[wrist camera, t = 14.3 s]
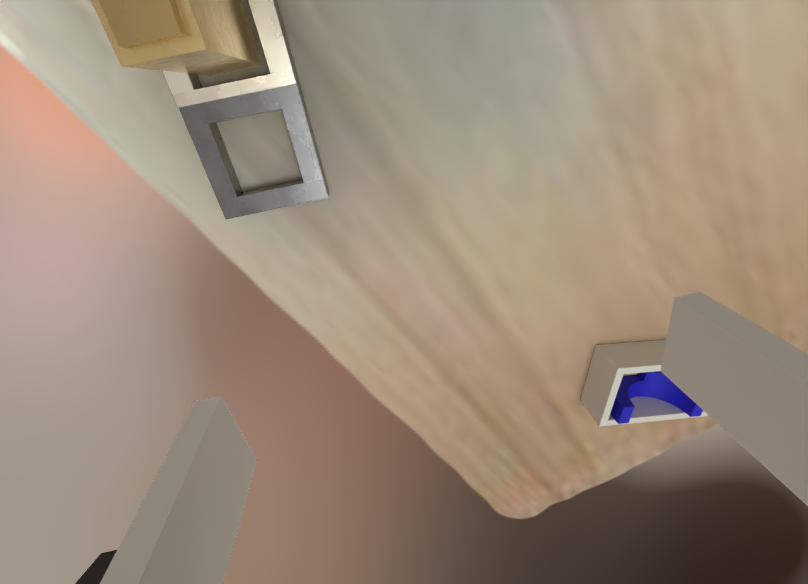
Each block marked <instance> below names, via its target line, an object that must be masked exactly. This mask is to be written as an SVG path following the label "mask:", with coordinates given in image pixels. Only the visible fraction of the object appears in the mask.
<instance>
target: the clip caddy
mask: <svg viewBox="0 0 808 584" xmlns="http://www.w3.org/2000/svg"><path fill="white" fill-rule="evenodd" d="M665 345H666V340H655V341H641V342H628V343H614V344H601V345H596V346H595V349H594V353H593V356H592V360H591V364H590V367H589V371H588V374H587V378H586V381H585V385H584V389H583V392H582V396H581V399H580V401H581V402H582V403H583V405H584V406H585V408H586V409H587V410H588V412H589V413H590V414H591V416H592V417H593V419H594V420H595V421H596V423H597V424H598V425H599V426H609V425H619V424H618V423H617V422H616V421H615V419H614V418H613V417H612V416H611V414H610V413H611V410H612V407H613V404H614V401H615V398H616V395H617V392H618V389H619V386H620V383H621V380H622V377H623V374H631V373H643V372H655V371H661V366H662V361H663V355H664V350H665ZM630 400H631V402H632V403H633V405H634V406H635V407H634V410H633V413H632V415H631V418H630V421H629V423H640V422H650V421H660V420H671V419H681V418H691V417H690V416H689V415H688V414H686V413H685V412H684V411H682V410H681V409H679V408H678V407H676V406H674V405H672V404H670V403H668V402H665V401H663V400H660V399H656V398H652V397H643V396H642V397H633V398H630ZM701 416H709V415H708V414H707V413H706V412H705V411H703V412H702V414H701ZM701 416H695V417H701ZM629 423H623V424H629Z"/></svg>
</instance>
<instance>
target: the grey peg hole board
mask: <svg viewBox="0 0 808 584" xmlns="http://www.w3.org/2000/svg"><path fill="white" fill-rule="evenodd" d="M248 1H249V4H250V8H251V11H252V14H253V18H254V21H255V24H256V27H257V31H258V34H259V37H260V41H261V44H262V47H263V50H264V54H265V57H266V60H267V64H268V67H269V70H270V73H271V74H269V75H264V76H259V77H254V78H249V79H244V80H240V81H235V82H230V83H225V84H220V85H215V86H210V87H205V88H202V85H201V83H200V80H199V78H198V75H197V74H189V73H179V72H170V71H163V74H164V76H165V79H166V81H167V83H168V86H169V88H170V90H171V93H172V95H173V97H174V100H175V102H176V105H177V107H178V108H179V109H180V112H181V114H182V116H183V119H184V121H185V124H186V126H187V128H188V131H189V133H190V135H191V138H192V140H193V143H194V145H195V147H196V150H197V152H198V154H199V157H200V159H201V162H202V164H203V166H204V169H205V171H206V173H207V176H208V178H209V181H210V183H211V185H212V188H213V190H214V192H215V195H216V197H217V200H218V202H219V204H220V207H221V209H222V211H223V214H224V216H225V219H230V218H234V217H239V216H244V215H249V214H253V213H258V212H263V211H268V210H272V209H277V208H282V207H287V206H291V205H296V204H301V203H306V202H310V201H315V200H320V199H325V198H328V197H329V190H328V186H327V182H326V179H325V175H324V171H323V168H322V164H321V160H320V157H319V153H318V150H317V146H316V142H315V139H314V135H313V131H312V128H311V124H310V120H309V117H308V113H307V110H306V106H305V102H304V99H303V95H302V91H301V88H300V84H299V80H298V77H297V73H296V70H295V66H294V62H293V59H292V55H291V51H290V48H289V44H288V40H287V37H286V33H285V30H284V26H283V22H282V19H281V15H280V11H279V8H278V4H277V0H248ZM277 109H282V112H283V115H284V118H285V121H286V125H287V128H288V131H289V135H290V138H291V141H292V145H293V148H294V151H295V154H296V158H297V161H298V164H299V168H300V171H301V174H302V178H303V180H298V181H293V182H288V183H283V184H279V185H274V186H269V187H264V188H260V189H255V190H250V191H245V192H242V189H241V187H240V184H239V181H238V179H237V176H236V174H235V171H234V168H233V166H232V163H231V161H230V158H229V155H228V153H227V150H226V148H225V145H224V142H223V140H222V137H221V135H220V132H219V129H218V127H217V124H216V122H219V121H224V120H229V119H233V118H238V117H243V116H248V115H253V114H258V113H262V112H267V111H272V110H277Z"/></svg>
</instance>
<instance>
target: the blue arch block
mask: <svg viewBox="0 0 808 584" xmlns="http://www.w3.org/2000/svg"><path fill="white" fill-rule="evenodd" d="M642 396H643V397H652V398H656V399H660V400H663V401H665V402H668V403H670V404H672V405H674V406H676V407H678V408H679V409H681V410H682V411H684V412H685V413H686V414H688V415H689V416H690V417H695V416H701V414H702V412H703V410H702V409H701V408H700V407H699V406H698V405H697V404H696V403H695V402H694V401H693V400H691V399H690V398H689V397H688V396H687V395H686V394H685V393H684V392H683V391H682V390H680V389H679V388H678V387H677V386H676V385H675V384H674V383H673V382H672V381H671V380H670V379H668V378H667V377H666V376H665V375H664V374H663V373H662V372H661V371H655V372H643V373H638V375H627V376H623V377H622V380H621V383H620V386H619V389H618V392H617V395H616V398H615V401H614V404H613V407H612V410H611V413H610V414H611V416H612V417H613V418H614V419H615V421H616V422H617V423H618V424H623V423H629V421H630V418H631V415H632V413H633V410H634V407H635V406H634V405H633V403H632V402H631V400H630V398H633V397H642Z"/></svg>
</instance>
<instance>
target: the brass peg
mask: <svg viewBox="0 0 808 584" xmlns="http://www.w3.org/2000/svg"><path fill="white" fill-rule="evenodd" d="M91 1H92V3H93V6H94V8H95V10H96V12H97V14H98V16H99V18H100V21H101V23H102V25H103V27H104V29H105V31H106V34H107V36H108V38H109V40H110V42H111V44H112V46H113V49H114V51H115V53H116V55H117V57H118V59H119V61H120V64H121V66H123V67H132V68H142V69H151V70H161V71H170V72H179V73H189V74H198V75H208V76H211V75H216V74H220V73H225V72H230V71H235V70H240V69H245V68H250V67H255V66H260V65H262V62H261V59H260V56H259V53H258V49H257V46H256V43H255V40H254V37H253V33H252V30H251V27H250V24H249V20H248V17H247V14H246V11H245V8H244V4H243V1H242V0H91Z"/></svg>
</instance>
